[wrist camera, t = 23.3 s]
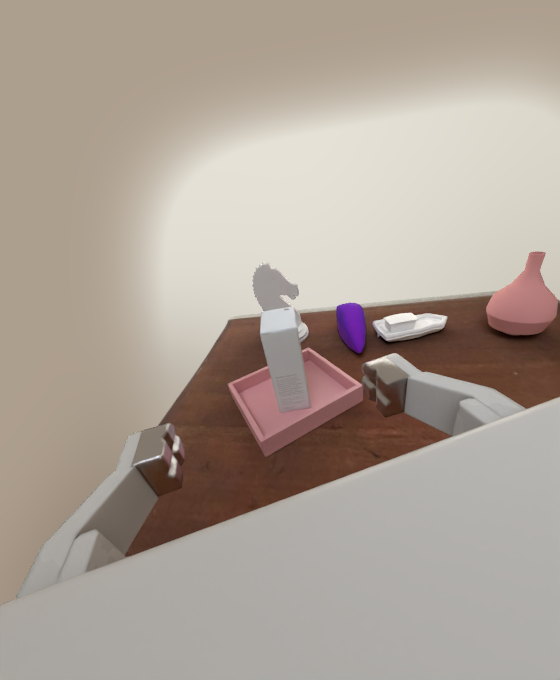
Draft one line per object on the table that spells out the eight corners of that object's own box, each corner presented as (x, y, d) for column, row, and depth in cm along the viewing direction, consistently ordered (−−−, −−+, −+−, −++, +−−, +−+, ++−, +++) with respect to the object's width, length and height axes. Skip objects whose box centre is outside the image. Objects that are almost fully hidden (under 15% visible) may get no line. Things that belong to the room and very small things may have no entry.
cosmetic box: (277, 384, 37) (260, 310, 32) (306, 379, 37) (294, 304, 31) (278, 414, 32) (258, 333, 26) (311, 409, 32) (298, 326, 26)
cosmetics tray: (265, 457, 28) (260, 442, 26) (232, 397, 38) (227, 383, 36) (363, 400, 32) (362, 385, 31) (310, 360, 42) (308, 347, 41)
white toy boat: (371, 331, 47) (371, 315, 45) (435, 319, 46) (438, 302, 45) (384, 347, 42) (384, 329, 40) (457, 334, 41) (461, 316, 39)
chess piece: (312, 343, 47) (301, 262, 40) (261, 352, 47) (240, 274, 40) (305, 321, 55) (295, 251, 48) (261, 329, 56) (245, 261, 49)
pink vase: (471, 332, 41) (487, 257, 35) (497, 316, 44) (516, 244, 38) (531, 350, 35) (564, 264, 29) (558, 331, 37) (592, 247, 31)
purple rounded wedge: (344, 341, 38) (333, 297, 50) (345, 365, 41) (334, 318, 53) (376, 338, 37) (357, 294, 49) (375, 362, 40) (357, 315, 52)
